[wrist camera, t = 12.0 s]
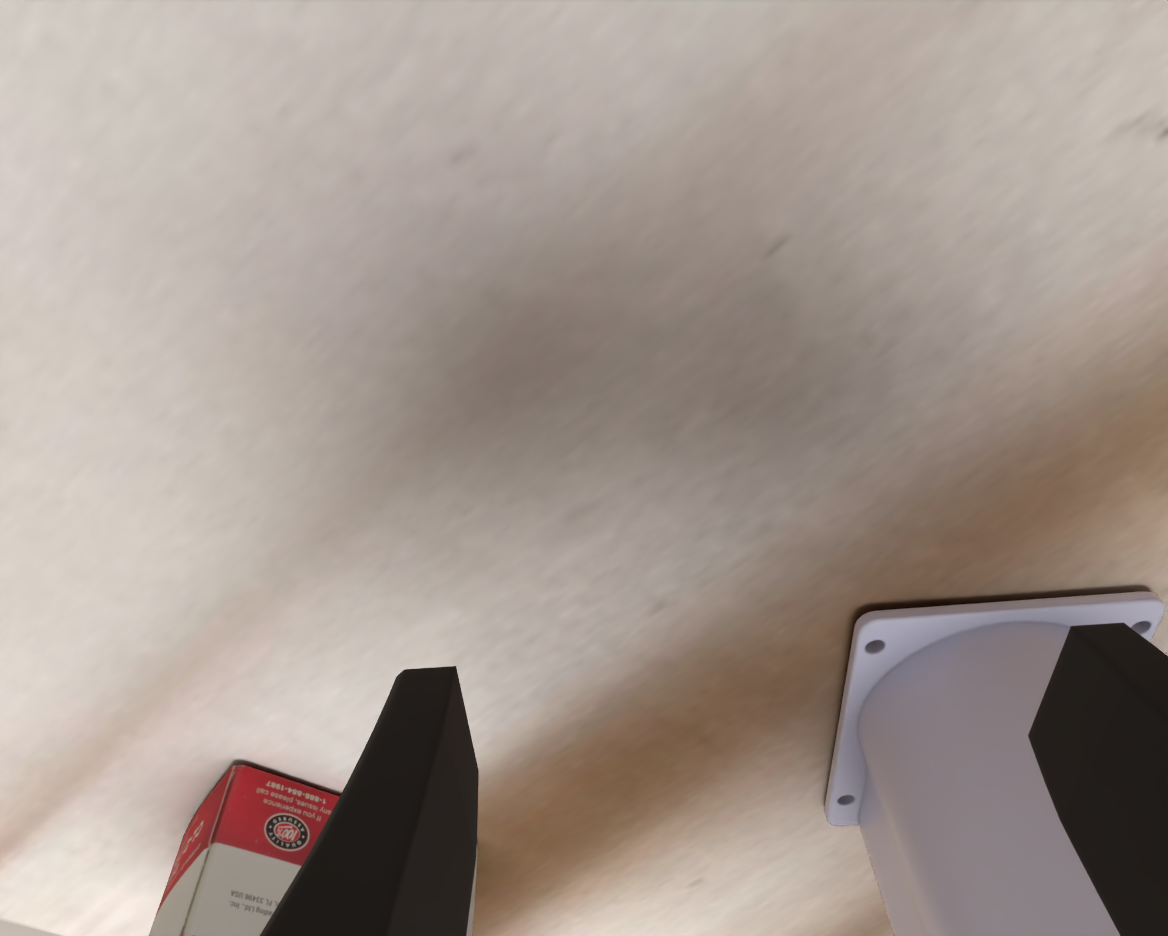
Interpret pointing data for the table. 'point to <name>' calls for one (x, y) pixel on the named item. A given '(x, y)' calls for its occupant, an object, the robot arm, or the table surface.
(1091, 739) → the robot arm
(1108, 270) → the table surface
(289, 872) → the ink box
